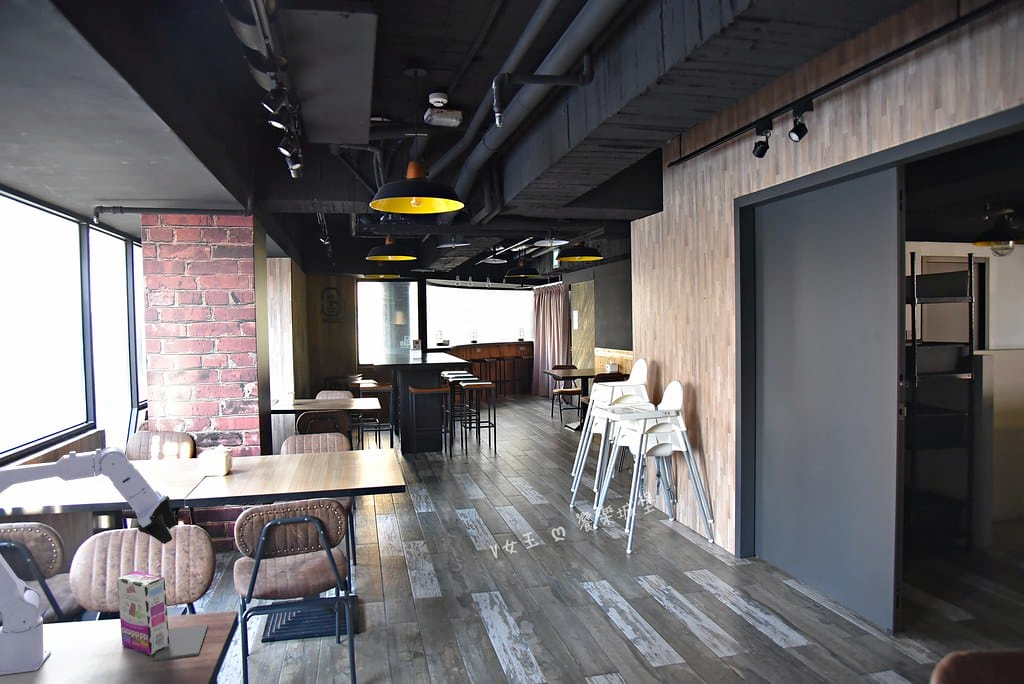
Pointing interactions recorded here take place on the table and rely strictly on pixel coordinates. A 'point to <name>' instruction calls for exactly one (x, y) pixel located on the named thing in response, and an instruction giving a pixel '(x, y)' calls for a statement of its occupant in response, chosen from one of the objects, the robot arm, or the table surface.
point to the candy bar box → (143, 612)
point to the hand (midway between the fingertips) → (171, 533)
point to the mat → (183, 642)
